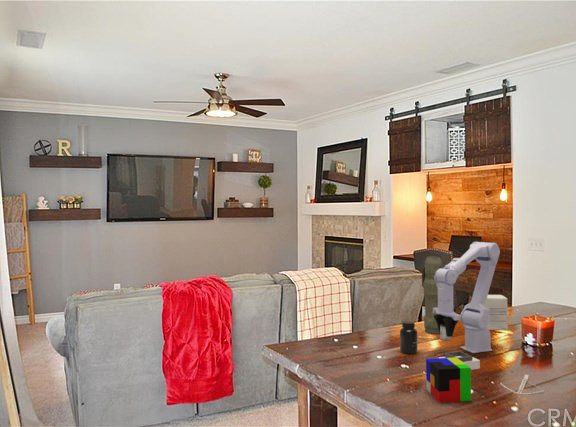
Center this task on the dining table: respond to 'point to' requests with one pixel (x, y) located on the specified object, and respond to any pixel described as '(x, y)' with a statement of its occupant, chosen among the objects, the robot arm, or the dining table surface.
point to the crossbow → (522, 387)
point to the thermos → (430, 292)
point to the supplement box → (497, 312)
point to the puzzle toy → (448, 379)
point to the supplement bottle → (408, 338)
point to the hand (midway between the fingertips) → (445, 334)
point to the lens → (443, 333)
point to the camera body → (464, 359)
